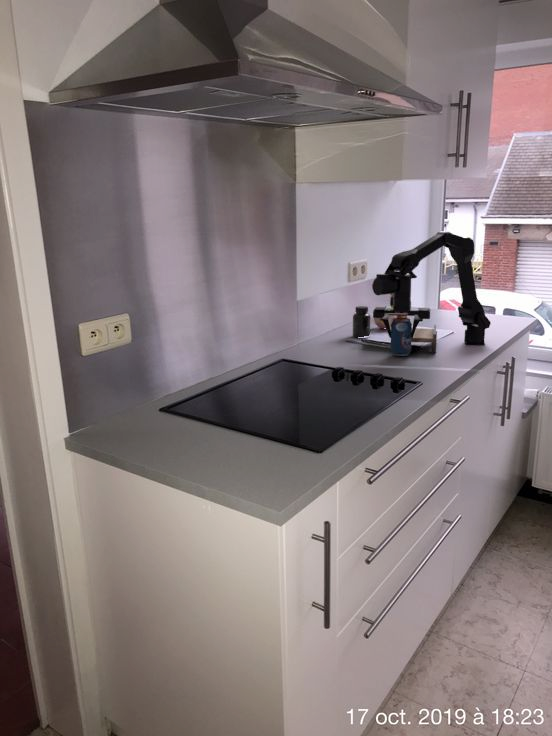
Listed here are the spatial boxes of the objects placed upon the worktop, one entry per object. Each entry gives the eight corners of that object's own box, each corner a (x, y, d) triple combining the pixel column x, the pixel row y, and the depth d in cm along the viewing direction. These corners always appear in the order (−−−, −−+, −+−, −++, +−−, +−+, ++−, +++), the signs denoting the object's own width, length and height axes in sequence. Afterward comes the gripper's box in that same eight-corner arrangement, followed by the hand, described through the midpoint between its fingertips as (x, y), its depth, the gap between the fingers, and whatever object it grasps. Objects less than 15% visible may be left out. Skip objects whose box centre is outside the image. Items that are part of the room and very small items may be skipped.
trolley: (436, 343, 229) (437, 324, 228) (435, 354, 214) (436, 334, 212) (401, 341, 233) (402, 323, 231) (398, 353, 217) (399, 333, 215)
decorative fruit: (381, 333, 247) (381, 308, 244) (370, 329, 254) (370, 305, 252) (401, 331, 251) (401, 306, 248) (389, 327, 258) (390, 303, 255)
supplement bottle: (371, 339, 238) (371, 308, 235) (353, 339, 239) (353, 308, 235) (369, 335, 245) (369, 305, 242) (351, 335, 245) (351, 305, 242)
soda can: (406, 357, 208) (407, 322, 205) (387, 354, 212) (387, 320, 208) (414, 352, 214) (415, 318, 210) (395, 350, 217) (395, 316, 214)
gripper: (431, 288, 212) (429, 333, 216) (376, 288, 217) (375, 332, 221) (430, 294, 202) (428, 340, 206) (373, 293, 206) (372, 339, 211)
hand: (401, 337), depth 211 cm, fingers closed on soda can, 7 cm apart
